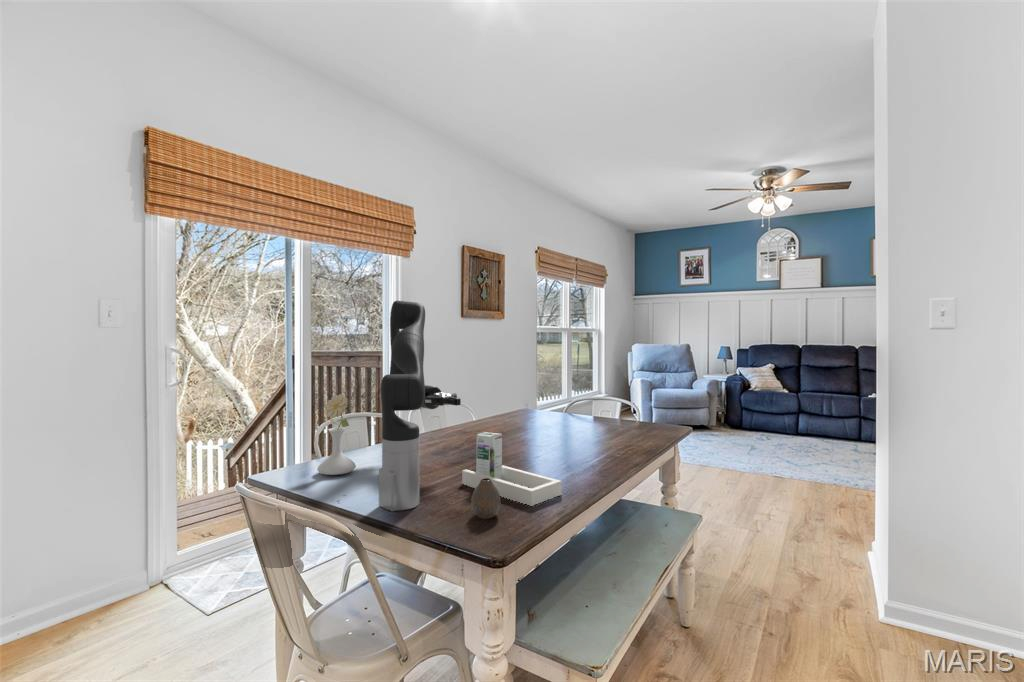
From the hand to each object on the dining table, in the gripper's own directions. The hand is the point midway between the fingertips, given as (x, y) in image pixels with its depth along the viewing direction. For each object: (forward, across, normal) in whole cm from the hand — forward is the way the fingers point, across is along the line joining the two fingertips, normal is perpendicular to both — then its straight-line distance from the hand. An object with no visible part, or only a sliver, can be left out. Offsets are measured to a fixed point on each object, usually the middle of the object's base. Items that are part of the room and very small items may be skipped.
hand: (458, 401), depth 153 cm
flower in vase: (-27, -26, +23) cm, 44 cm away
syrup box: (+14, 0, +22) cm, 26 cm away
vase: (+32, -18, +22) cm, 43 cm away
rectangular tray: (+22, 0, +22) cm, 32 cm away
